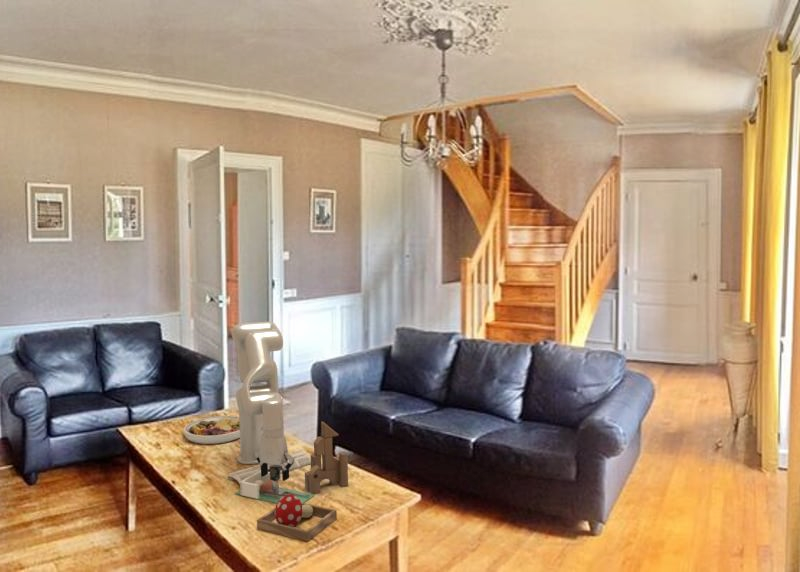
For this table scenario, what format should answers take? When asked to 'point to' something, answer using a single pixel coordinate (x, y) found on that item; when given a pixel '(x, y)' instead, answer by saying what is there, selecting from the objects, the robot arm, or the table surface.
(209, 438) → the bowl
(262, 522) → the display tray
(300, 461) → the newspaper
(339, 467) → the wooden toy
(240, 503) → the table surface
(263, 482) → the ball
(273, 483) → the knobbed pusher
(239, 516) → the table surface
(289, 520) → the decorative mushroom
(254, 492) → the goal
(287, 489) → the green railed board
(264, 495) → the rail
